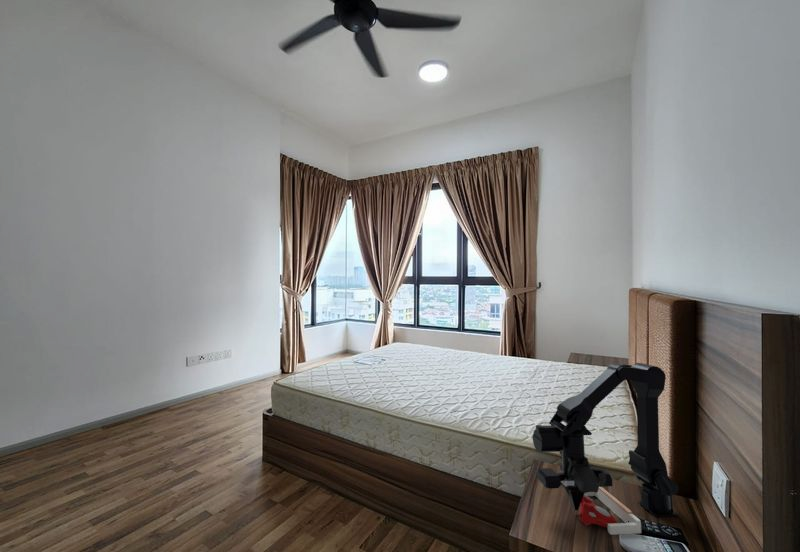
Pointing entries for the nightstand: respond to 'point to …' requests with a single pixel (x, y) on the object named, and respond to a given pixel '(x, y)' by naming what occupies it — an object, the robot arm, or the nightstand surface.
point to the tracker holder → (594, 513)
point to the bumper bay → (618, 514)
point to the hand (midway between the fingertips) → (575, 509)
